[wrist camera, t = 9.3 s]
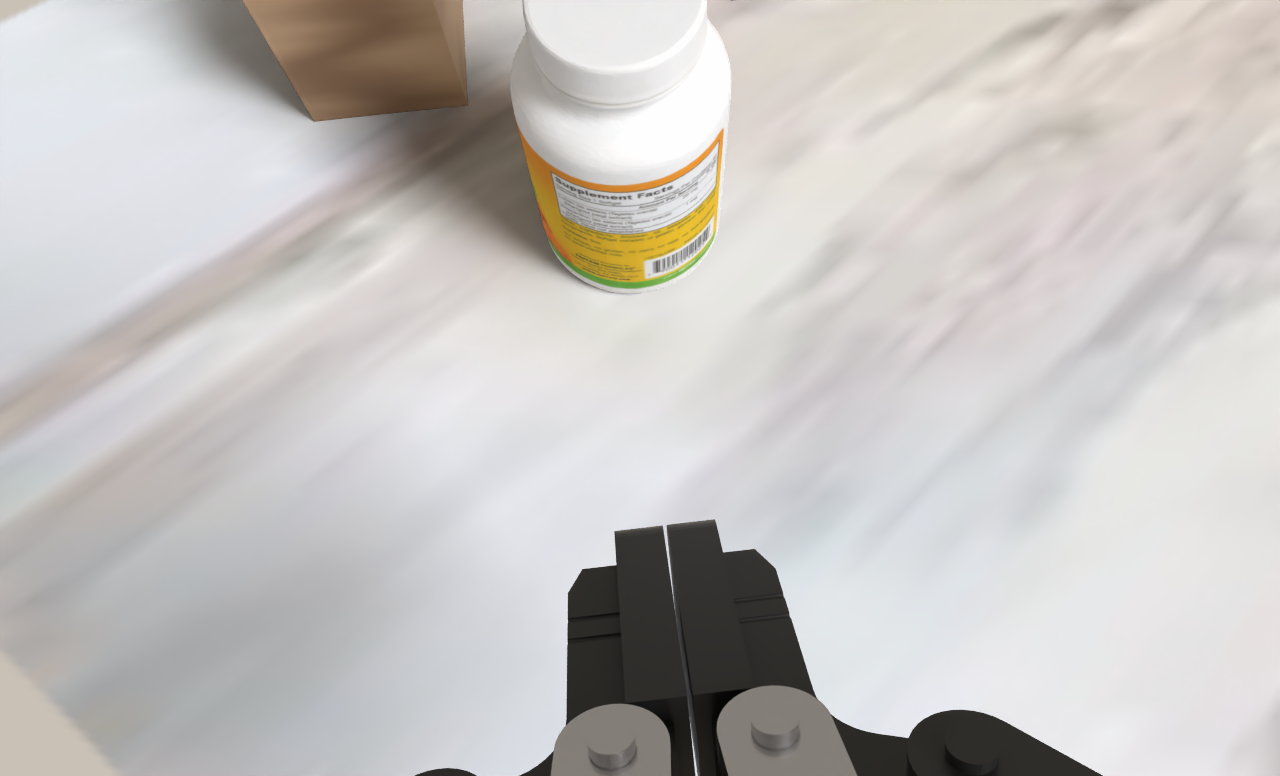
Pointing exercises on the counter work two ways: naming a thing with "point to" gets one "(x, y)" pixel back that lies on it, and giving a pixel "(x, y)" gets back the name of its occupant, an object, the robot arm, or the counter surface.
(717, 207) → the supplement bottle
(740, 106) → the counter surface
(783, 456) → the counter surface
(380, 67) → the walnut two pip block
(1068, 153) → the counter surface
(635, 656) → the robot arm
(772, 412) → the counter surface
